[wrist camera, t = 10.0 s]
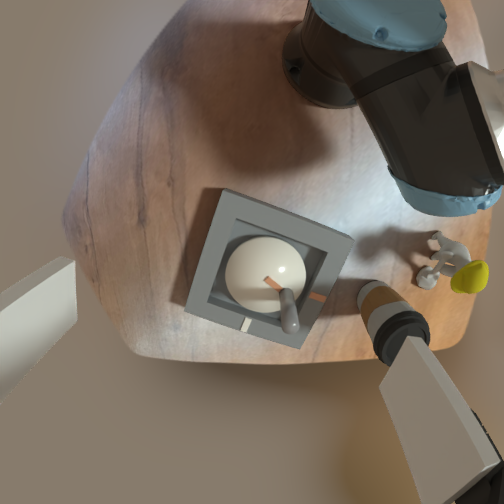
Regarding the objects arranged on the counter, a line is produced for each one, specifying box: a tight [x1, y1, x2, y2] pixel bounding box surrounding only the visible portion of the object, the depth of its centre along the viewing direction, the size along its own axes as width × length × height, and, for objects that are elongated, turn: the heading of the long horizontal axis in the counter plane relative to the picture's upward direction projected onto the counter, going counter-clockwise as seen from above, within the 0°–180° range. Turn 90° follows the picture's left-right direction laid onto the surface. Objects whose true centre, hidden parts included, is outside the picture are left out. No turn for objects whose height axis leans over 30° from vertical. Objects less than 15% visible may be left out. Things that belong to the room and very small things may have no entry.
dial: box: [225, 235, 306, 334], centre depth 40 cm, size 12×12×11 cm
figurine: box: [416, 231, 489, 294], centre depth 37 cm, size 10×9×15 cm
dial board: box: [184, 188, 354, 349], centre depth 45 cm, size 20×20×3 cm
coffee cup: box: [357, 281, 430, 367], centre depth 40 cm, size 8×8×15 cm
